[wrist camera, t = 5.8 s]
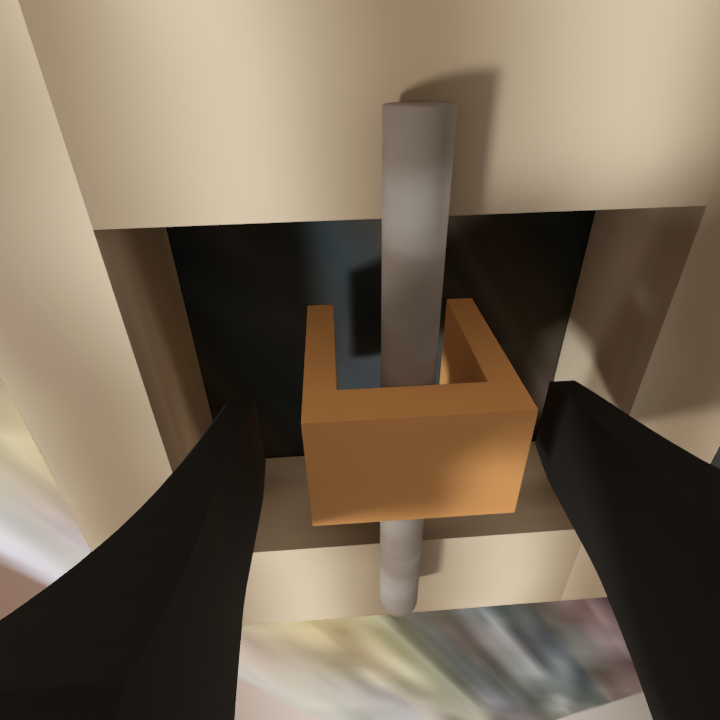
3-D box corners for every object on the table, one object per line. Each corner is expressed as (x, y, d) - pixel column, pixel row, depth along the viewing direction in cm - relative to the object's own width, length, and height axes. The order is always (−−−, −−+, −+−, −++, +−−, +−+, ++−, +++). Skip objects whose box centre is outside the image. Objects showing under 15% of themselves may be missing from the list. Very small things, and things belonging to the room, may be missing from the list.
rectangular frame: (781, -26, 11) (1087, -76, 7) (589, 505, 21) (661, 627, 16) (-40, -13, 10) (-314, -60, 6) (166, 535, 20) (122, 672, 16)
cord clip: (471, 297, 14) (538, 409, 9) (461, 384, 15) (514, 512, 11) (307, 305, 13) (301, 423, 9) (315, 392, 15) (312, 526, 11)
